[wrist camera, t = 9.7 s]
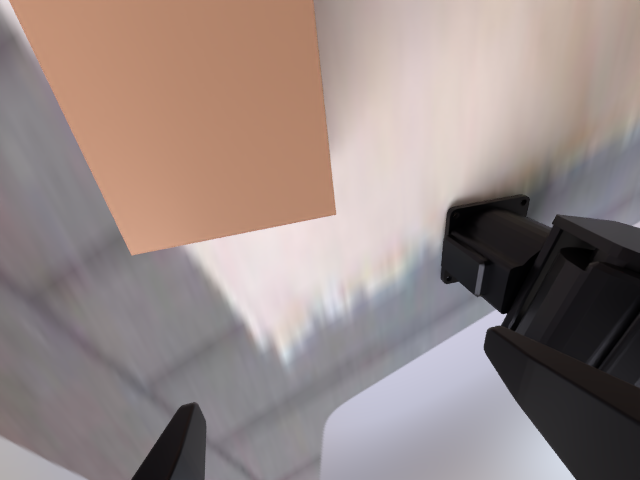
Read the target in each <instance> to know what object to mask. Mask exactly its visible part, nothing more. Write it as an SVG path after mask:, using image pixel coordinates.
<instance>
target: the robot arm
mask: <svg viewBox="0 0 640 480" xmlns="http://www.w3.org/2000/svg"><path fill="white" fill-rule="evenodd" d="M521 201H522V202H521ZM529 201H530V199H529V197H528V196H525V195H516V196H511V197H505V198H500V199H494V200H489V201H484V202H478V203H473V204H467V205H462V206H457V207H452V208H451V209H449V210H448V212H447V217H446V227H445V237H444V241H443V251H442V262H441V266H442V269H441V280H442V281H443V282H444V283H446V284H450V283H455V282H460V283H461V284H462V285H463V286H465V287H466V288H467V289H468V290H469V291H470V292H471V293H473V294H474V295H475V296H477V297H479V296H481V297H483V298H484V299H485V300H486V301H487V302H488V303H490V304H491V305H492V306H493V307H494V308H496V309H497V310H498V311H499V312H500V313H501V314H506V313H507V315H506V317H505V319H504V321H503V323H502V325H501V326H495V327H491V328H489V329H488V330H487V332H486V337H485V343H484V351H485V353H486V355H487V357H488V358H489V360H490V361H491V363H492V365H493V366H494V368H495V369H496V371H497V372H498V374H499V376H500V377H501V379H502V380H503V382H504V383H505V385H506V387H507V388H508V390H509V391H510V393H511V394H512V396H513V397H514V399H515V400H516V401H517V403H518V404H519V406H520V407H521V408H522V410H523V411H524V412H525V414H526V415H527V416H528V417H529V419H530V420H531V421H532V423H533V424H534V425H535V427H536V428H537V429H538V431H539V432H540V433H541V434H542V436H543V437H544V438H545V440H546V441H547V442H548V444H549V445H550V446H551V447H552V449H553V450H554V451H555V453H556V454H557V455H558V456H559V458H560V459H561V461H562V462H563V463H564V464H565V466H566V467H567V468H568V470H569V471H570V472H571V473H572V475H573V476H574V477H575V479H576V480H640V228H637V227H634V226H630V225H627V224H623V223H620V222H616V221H609V220H600V219H592V218H584V217H575V216H567V215H559V214H557V215H556V217H555V219H554V221H553V223H552V224H554V225H553V227H552V228H551V227H549V226H546V225H544V224H542V223H539V222H537V221H535V220H532V219H530V218H528V217H526V215H527V210H528V206H529ZM454 213H456V215H455V216H453V215H454ZM448 276H449V277H448ZM447 277H448V278H447ZM205 451H206V421H205V418H204V416H203V414H202V411H201V409H200V407H199V405H198V404H197V403H196V402H193V403H189V404H185V405H182V406H181V407H180V408H179V409H178V410H177V412H176V413H175V415H174V416H173V418H172V419H171V421H170V422H169V424H168V425H167V427H166V428H165V430H164V431H163V433H162V434H161V436H160V437H159V439H158V440H157V442H156V443H155V445H154V446H153V448H152V449H151V451H150V452H149V454H148V455H147V457H146V458H145V460H144V461H143V463H142V464H141V466H140V467H139V469H138V470H137V472H136V473H135V475H134V476H133V478H132V479H131V480H204V479H205Z"/></svg>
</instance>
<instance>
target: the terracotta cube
mask: <svg viewBox="0 0 640 480" xmlns="http://www.w3.org/2000/svg"><path fill="white" fill-rule="evenodd" d="M9 1H10V3H11V5H12V7H13V9H14V12H15V14H16V16H17V18H18V20H19V22H20V24H21V26H22V28H23V30H24V32H25V34H26V36H27V39H28V41H29V43H30V45H31V47H32V49H33V51H34V53H35V55H36V57H37V59H38V61H39V64H40V66H41V68H42V70H43V72H44V74H45V76H46V78H47V80H48V82H49V84H50V86H51V88H52V91H53V93H54V95H55V97H56V99H57V101H58V103H59V105H60V107H61V109H62V111H63V113H64V116H65V118H66V120H67V122H68V124H69V126H70V128H71V130H72V132H73V134H74V136H75V138H76V141H77V143H78V145H79V147H80V149H81V151H82V153H83V155H84V157H85V159H86V161H87V163H88V165H89V168H90V170H91V172H92V174H93V176H94V178H95V180H96V182H97V184H98V186H99V188H100V190H101V193H102V195H103V197H104V199H105V201H106V203H107V205H108V207H109V209H110V211H111V213H112V215H113V218H114V220H115V222H116V224H117V226H118V228H119V230H120V232H121V234H122V236H123V238H124V240H125V242H126V245H127V247H128V249H129V251H130V253H131V255H136V254H141V253H146V252H151V251H156V250H161V249H166V248H171V247H176V246H181V245H186V244H191V243H196V242H201V241H206V240H211V239H216V238H221V237H226V236H231V235H236V234H241V233H246V232H251V231H256V230H261V229H266V228H271V227H276V226H281V225H286V224H291V223H296V222H301V221H306V220H311V219H316V218H321V217H326V216H331V215H336V208H335V199H334V190H333V181H332V171H331V162H330V153H329V143H328V134H327V125H326V115H325V106H324V97H323V88H322V78H321V69H320V60H319V50H318V41H317V32H316V22H315V13H314V4H313V0H9Z"/></svg>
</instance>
